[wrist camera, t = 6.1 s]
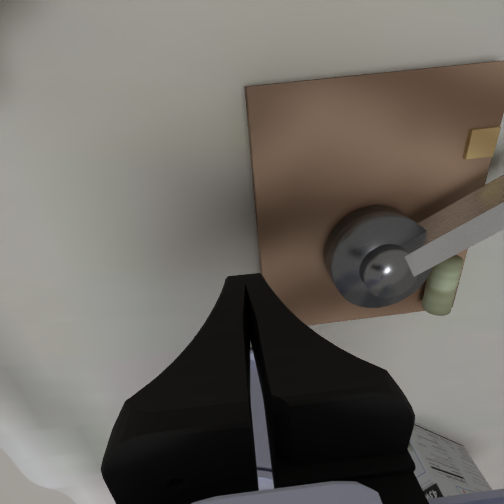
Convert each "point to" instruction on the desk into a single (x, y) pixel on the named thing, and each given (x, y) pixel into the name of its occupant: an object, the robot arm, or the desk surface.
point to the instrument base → (365, 170)
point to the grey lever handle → (406, 245)
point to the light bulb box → (443, 466)
